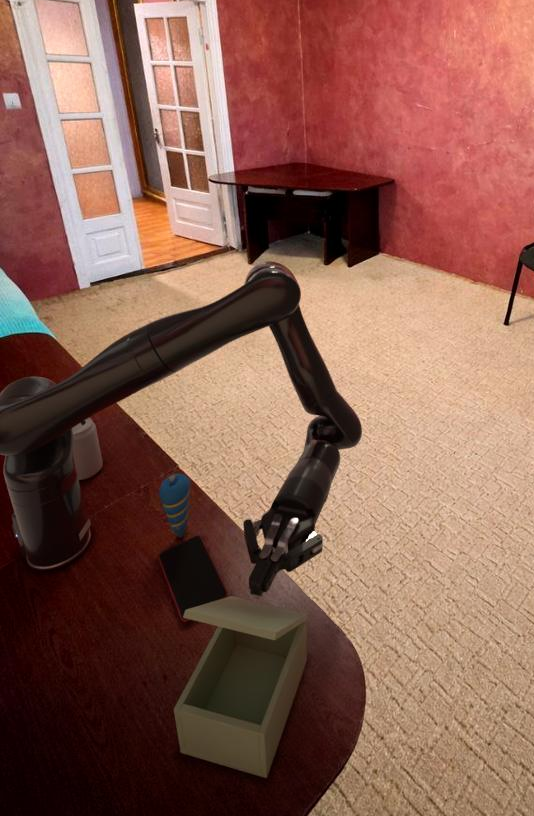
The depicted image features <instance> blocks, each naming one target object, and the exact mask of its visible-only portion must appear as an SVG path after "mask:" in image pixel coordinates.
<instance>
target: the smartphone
mask: <svg viewBox="0 0 534 816" xmlns="http://www.w3.org/2000/svg"><path fill="white" fill-rule="evenodd" d="M157 560H158V562H159V564H160V567H161V570H162V572H163V575H164V578H165V580H166V583H167V586H168V588H169V591H170V593H171V597H172V599H173V601H174V604H175V607H176V610H177V612H178V615H179V618H180V620H181V621H182V622H183V623H188V622H190V621H192V620H191V619H187V618H183V616H184V613H185V610H187V609H190V608H193V607H197V606H200V605H203V604H207V603H210V602H214V601H217V600H220V599H224V598H227V597H229V591H228V589H227V587H226V584H225V582H224V581H223V579H222V577H221V575H220V572H219V570H218V568H217V566H216V565H215V562H214V559H212V556H211V554H210V552H209V550H208V548H207V546H206V544H205V542H204V540H203V538H202V536H201V535H198V534H197V535H193V536H192V537H190V538H188V539H186V540H183V541H181V542H179V543H178V544H175V545H173V546H171V547H169V548H167V549H165V550H163V551H161V552H160V553H159V554H158V556H157Z"/></svg>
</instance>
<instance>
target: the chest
mask: <svg viewBox="0 0 534 816" xmlns="http://www.w3.org/2000/svg"><path fill="white" fill-rule="evenodd" d="M307 621H308V620H307V619H306V621H304V622H303V623H301V624H300V625H298V626H296V627H295V628H293V629H292V630H290V631H289V632H287V633H285V634H284V635H282V636H281V637H279V638H278V639H276V640H271V639H267V638H263V637H259V636H255V635H251V634H247V633H243V632H239V631H235V630H231V629H227V628H223V627H219V626H216V629H215V631H214V633H213V635H212V637H211V639H210V641H208V644H207V646H206V648H205V650H204V652H203V654H202V655H201V657H200V659H199V661H198V663H197V664H196V667H195V668H194V670H193V672H192V674H191V676H190V677H189V680H188V682H187V684H186V686H185V687H184V689H183V691H182V693H181V695H180V697H179V698H178V701H176V704H175V706H174V708H173V715H174V720H175V727H176V732H177V733H176V734H177V738H178V745H179V752H180V753H181V754H183V755H187V756H190V757H194V758H196V759H200V760H203V761H207V762H211V763H214V764H217V765H220V766H224V767H228V768H231V769H233V770H237V771H241V772H244V773H248V774H251V775H254V776H258V777H261V778H264V779H267V778H268V776H269V773H270V771H271V767H272V764H273V761H274V758H275V755H276V753H277V750H278V747H279V744H280V741H281V738H282V735H283V732H284V729H285V726H286V723H287V720H288V717H289V715H290V711H291V708H292V706H293V703H294V701H295V696H296V694H297V691H298V688H299V685H300V683H301V679H302V676H303V673H304V670H305V668H306V665H307V661H308V638H307V637H308V631H307V629H308V626H307V623H308V622H307Z"/></svg>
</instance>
